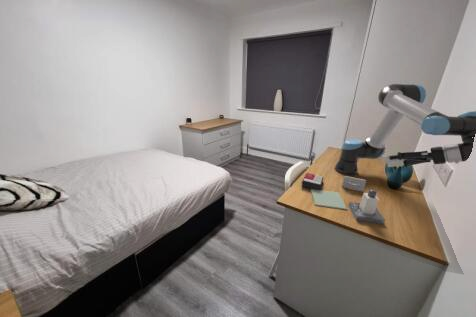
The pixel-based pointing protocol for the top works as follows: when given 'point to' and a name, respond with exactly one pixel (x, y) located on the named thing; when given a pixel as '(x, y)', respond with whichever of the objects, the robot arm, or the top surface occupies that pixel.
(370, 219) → the socket
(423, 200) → the top surface
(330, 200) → the mat
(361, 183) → the cassette
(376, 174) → the top surface
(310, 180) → the calculator
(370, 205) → the plug
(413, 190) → the top surface
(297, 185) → the top surface
